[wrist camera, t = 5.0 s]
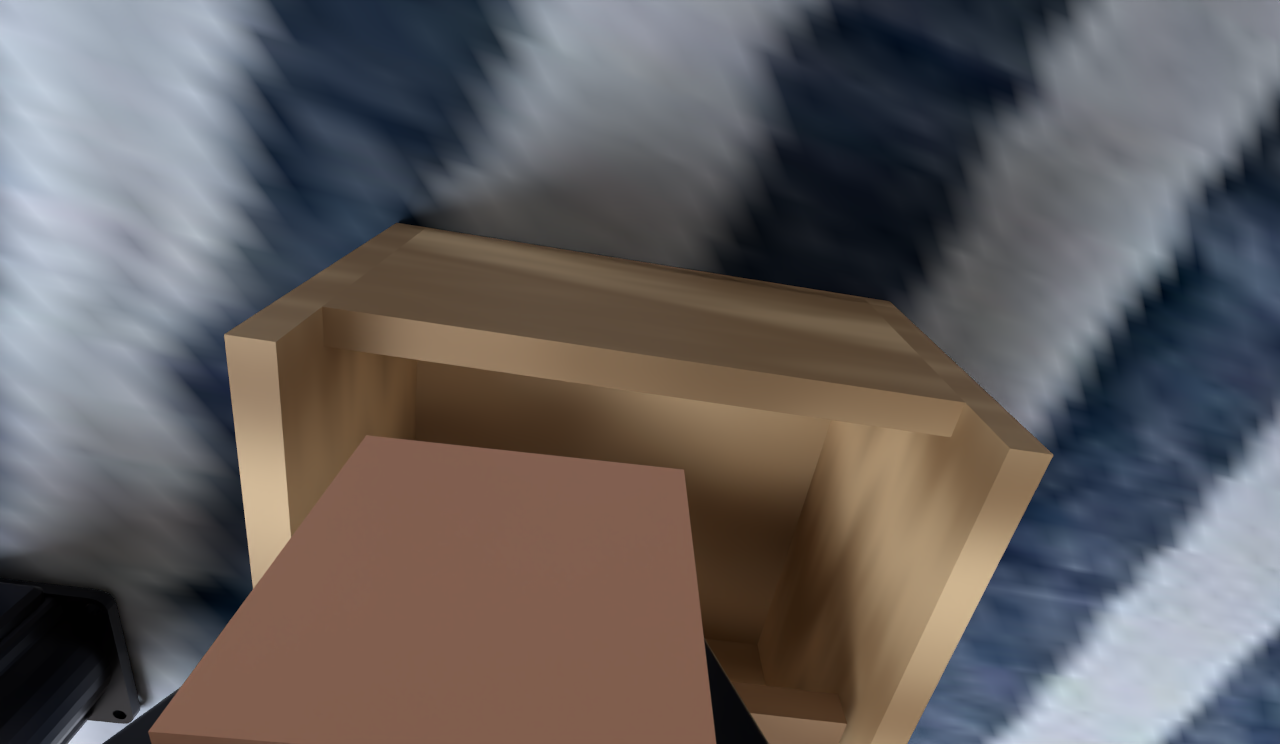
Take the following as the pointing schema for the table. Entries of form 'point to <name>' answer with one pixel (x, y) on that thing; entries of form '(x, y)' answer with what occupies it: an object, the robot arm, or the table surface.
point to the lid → (794, 714)
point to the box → (668, 437)
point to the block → (466, 611)
